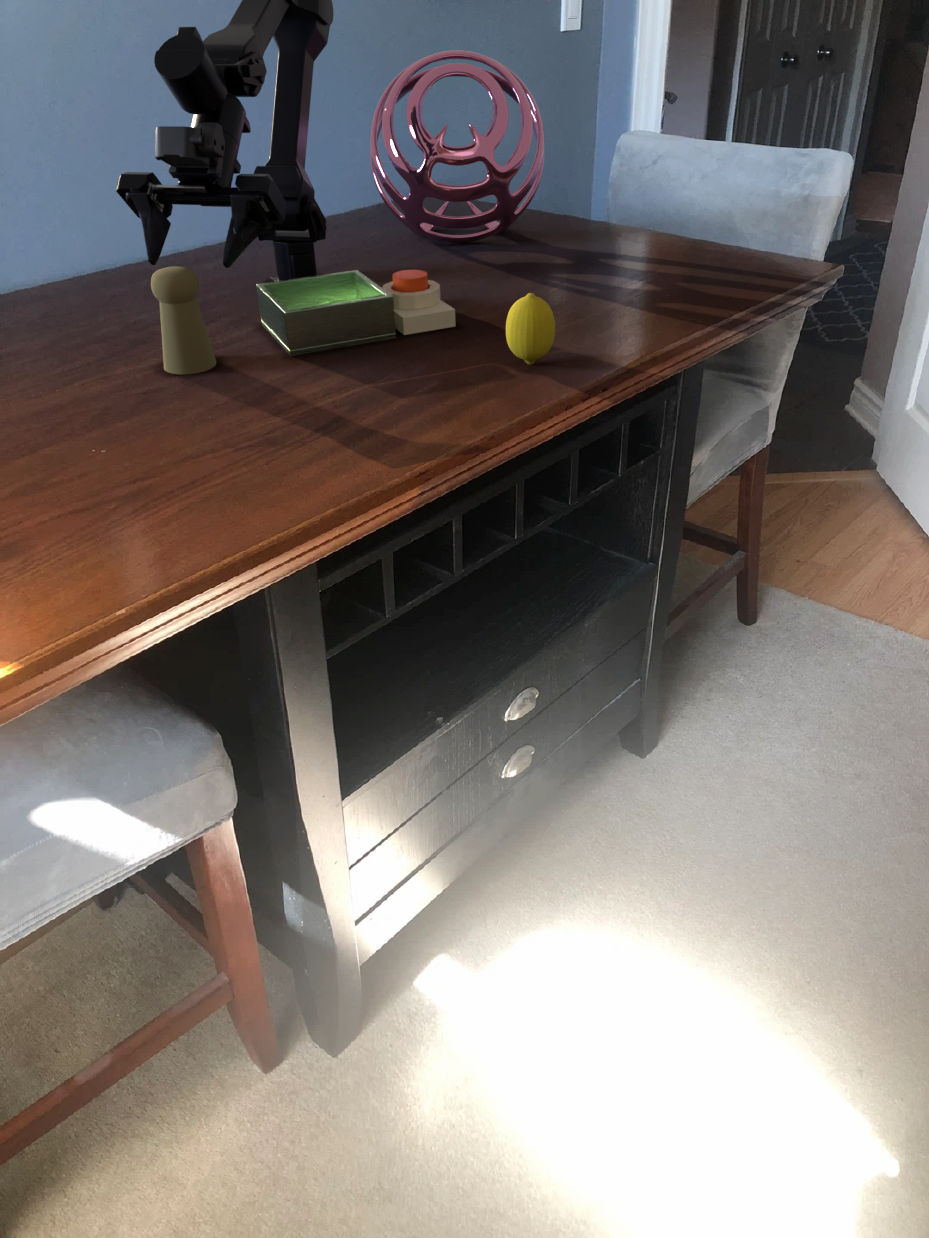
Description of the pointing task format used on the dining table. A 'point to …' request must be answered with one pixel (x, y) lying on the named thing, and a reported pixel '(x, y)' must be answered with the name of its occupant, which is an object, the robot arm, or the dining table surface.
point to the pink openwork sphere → (457, 150)
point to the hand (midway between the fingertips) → (188, 264)
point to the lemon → (530, 328)
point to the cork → (182, 322)
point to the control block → (420, 310)
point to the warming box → (326, 312)
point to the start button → (410, 281)
